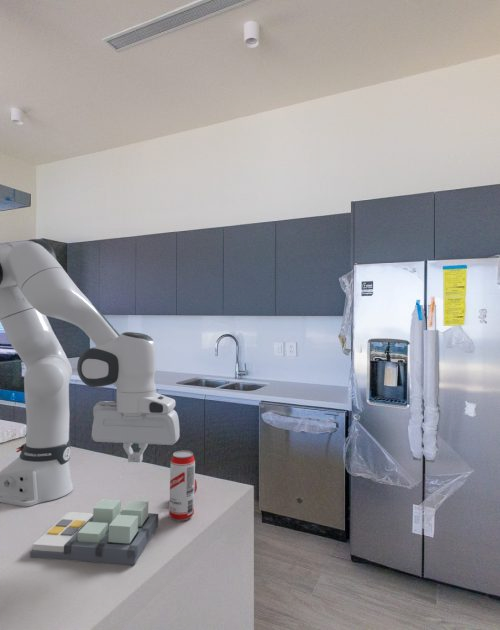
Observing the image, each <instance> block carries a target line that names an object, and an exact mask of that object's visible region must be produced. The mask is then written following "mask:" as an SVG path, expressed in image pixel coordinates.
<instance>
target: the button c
mask: <svg viewBox="0 0 500 630" xmlns="http://www.w3.org/2000/svg"><path fill="white" fill-rule="evenodd" d="M137 532H138V516H132V515H117V516H116V518H115V519H114V520H113V521H112V522H111V523H110V525H109V541H108V542H115V543H129V544H130V542H131V541H132V539H133V538H134V536H135V535H136V533H137Z"/></svg>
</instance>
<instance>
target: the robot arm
mask: <svg viewBox="0 0 500 630" xmlns="http://www.w3.org/2000/svg"><path fill="white" fill-rule="evenodd" d="M48 317H50V318H53V319H57V320H61V321H64V322H67V323H70V324H72V325H74V326H75V327H78V328H79V329H80V330H81V331H83V333H85V335H86V336H87V337H88V338H89V339H90V340H91V342H93V344H94V345H95V346H93V347H91V348H88V349H85V350H84V351H83V352H82V353H81V354H80V356H79V358H78V359H77V365H76V370H77V375H78V377H79V379H80V380H81V382H82V383H83V384H85V385H86V386H88V387H92V388H103V387H107V386H111V385H112V386H113V385H114V386H115V387H116V400H114V401H113V400H110V401H107V400H100V401H99V402H97V403H95V405H94V406H93V408H92V409H93V411H92V415H93V420H92V427H91V439H92V440H93V441H94V442H98V443H99V442H101V443H118V444H119V443H121V444H122V447H123V449H124V451H125V453H126V455H127V462H128V463H142V462H143V459H144V453H145V451H146V449H147V447H148V445H162V446H163V445H164V446H165V445H166V446H173V445H175V443H176V442H178V440H179V438H180V435H181V434H180V421H179V419H180V418H179V415H178V412H177V411H176V410H175V409H174V408H175V407H176V406H177V405H176V399H174V398H172V397H168V396H167V395H163V394H160V393H158V392H157V387H156V383H155V376H156V372H157V352H156V351H157V350H156V344H155V341H154V339H153V337H152V336H149V335H148V334H145V333H141V332H133V331H128V332H127V331H126V332H122V333H120V334H119V332H118V331H117V330H116V329H115V328H114V326H113V324H111V323H110V322H109V321H108V320H107V318H106V317H105V316H104V314H103V313H102V312H101V311H100V310H99V309H98V308H97V307H96V306H95V304H93V302H92V301H90V299H88V297H87V296H86V295H85V294H84V293H83V292H82V290H80V288H78V286H77V284H76V283H75V282H74V281H73V280H72V278H71V277H70V276H69V275H68V273H67V272H66V270H65V269H64V268H63V266H62V265H61V264H60V262H58V259H57V255H56V251H55V249H54V248H53V247H52V246H51V244H49V243H48V242H47V241H46V240H44V239H32V238H31V239H29V240H22V241H21V240H19V241H11V242H5V243H3V244H0V323H1V326H2V328H3V330H4V332H5V334H6V337H7V338H8V339H7V340H9V343H10V345H11V347H12V348H13V349H14V351H15V352H16V353H17V355H18V356H19V358H20V359H21V361H22V363H23V365H24V366H25V368H26V370H25V373H24V378H23V384H24V385H23V386H24V387H23V388H24V389H23V390H24V404H25V411H26V428H25V429H26V433H25V443H23V444H21V446H19V447H17V448H16V451H15V452H16V453H18V452H20V454H19V457H17V458H15V460H14V461H12V462H10V463H9V464H8V465H7V466H5V467H3V469H2V470H1V471H0V503H4V504H9V505H14V506H20V507H30V506H33V505H37V504H40V503H44V502H49V501H52V500H56V499H60V498H62V497H64V496H66V495H69V494H70V493H71V492H72V491H73V490H74V488H75V487H74V482H73V479H72V475H71V467H70V458H71V439H70V415H71V414H70V381H71V378H72V373H73V368H72V365H71V362H70V360H69V359H68V357H67V354H66V353H65V351H64V348H63V346H62V345H61V343H60V342H59V341H60V340H59V339H58V338H57V336H56V334H55V332H54V330H53V328H52V326H51V323H50V321H49V319H48ZM133 444H138V448H139V451H137V452H136V451H135V452H134V450H133V448H132V445H133Z"/></svg>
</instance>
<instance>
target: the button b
mask: <svg viewBox="0 0 500 630" xmlns="http://www.w3.org/2000/svg"><path fill="white" fill-rule="evenodd" d="M121 507H122V499H112V498H110V499H109V498H102V499H100V500H99V502H97V504H96V505H94V506H93V509H92V510H93V511H92V512H93V522H101V523H108V524H110V523H111V522H112V521H113V520H114V519H115V518H116V516H117V515H121V512H122V510H121V509H122V508H121Z"/></svg>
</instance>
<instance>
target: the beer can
mask: <svg viewBox="0 0 500 630" xmlns="http://www.w3.org/2000/svg"><path fill="white" fill-rule="evenodd" d="M169 470H170V474H169V475H170V478H169V505H168V506H169V508H168V509H169V510H168V514H169V517H170V518H171V519H172V520H174V521H176V522H185V521H188V520H189V519H191V518H192V517H193V515H194V513H195V494H194V485H195V480H196V478H195V477H196V476H195V475H196V474H195V473H196V471H195V470H196V460H195V457H194V453H193V452H192V451H191V450H183V449H182V450H176V451H174V452H173V454H172V457H171V459H170V469H169ZM190 517H191V518H190Z"/></svg>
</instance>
